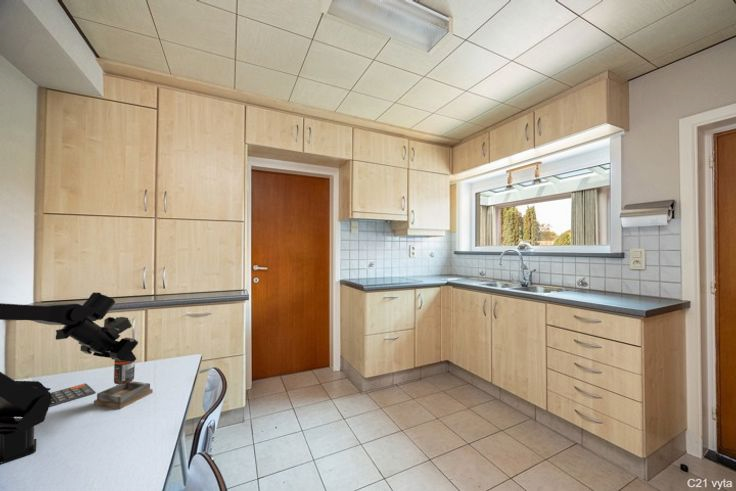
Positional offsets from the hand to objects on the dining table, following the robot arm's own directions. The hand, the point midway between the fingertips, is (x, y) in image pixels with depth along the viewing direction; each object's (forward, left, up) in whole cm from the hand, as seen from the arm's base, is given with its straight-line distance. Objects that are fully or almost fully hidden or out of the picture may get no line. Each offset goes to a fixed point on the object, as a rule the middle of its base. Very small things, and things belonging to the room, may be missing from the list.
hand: (129, 359), depth 97 cm
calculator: (+16, +15, -13) cm, 25 cm away
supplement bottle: (-1, +1, -7) cm, 7 cm away
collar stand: (0, +1, -12) cm, 12 cm away
